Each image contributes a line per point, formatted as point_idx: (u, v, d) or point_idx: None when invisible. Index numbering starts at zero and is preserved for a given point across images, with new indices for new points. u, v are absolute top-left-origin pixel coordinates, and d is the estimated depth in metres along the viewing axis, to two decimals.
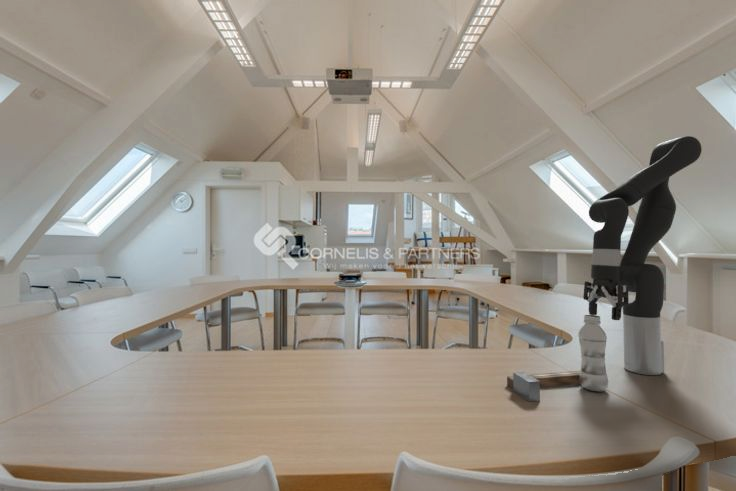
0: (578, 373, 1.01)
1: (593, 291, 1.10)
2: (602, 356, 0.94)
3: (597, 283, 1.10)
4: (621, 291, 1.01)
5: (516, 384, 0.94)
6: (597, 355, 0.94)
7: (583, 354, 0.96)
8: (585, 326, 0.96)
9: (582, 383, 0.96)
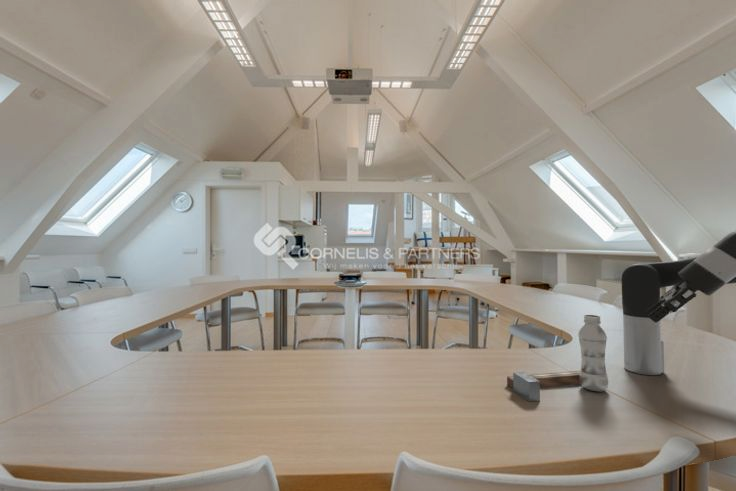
0: (578, 373, 1.01)
1: (669, 290, 0.89)
2: (602, 356, 0.94)
3: (681, 285, 0.87)
4: (680, 293, 0.80)
5: (516, 384, 0.94)
6: (597, 355, 0.94)
7: (583, 354, 0.96)
8: (585, 326, 0.96)
9: (582, 383, 0.96)
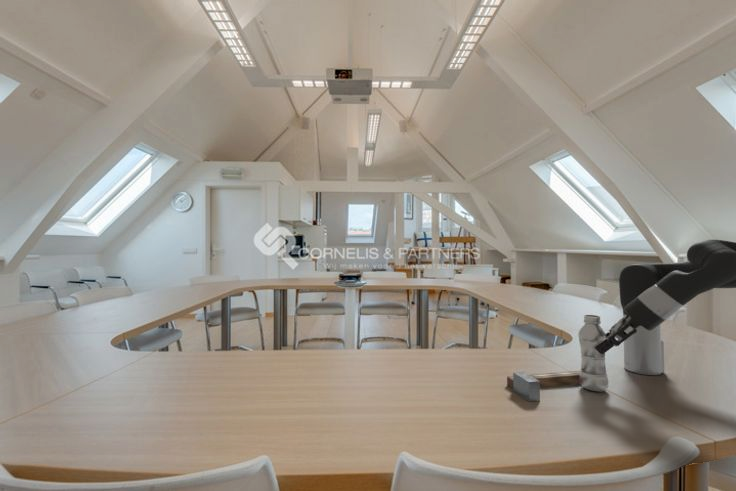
0: (578, 373, 1.01)
1: (617, 322, 0.94)
2: (602, 356, 0.94)
3: (627, 318, 0.92)
4: (622, 328, 0.86)
5: (516, 384, 0.94)
6: (597, 355, 0.94)
7: (583, 354, 0.96)
8: (585, 326, 0.96)
9: (582, 383, 0.96)
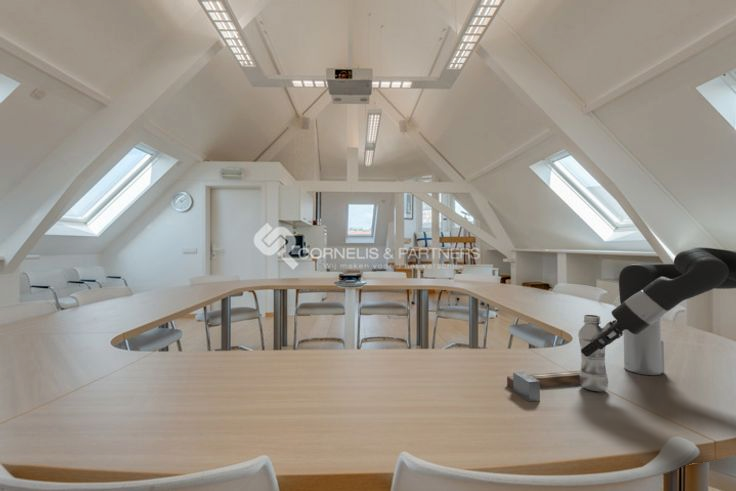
0: (578, 373, 1.01)
1: None
2: (602, 356, 0.94)
3: (615, 322, 0.94)
4: (605, 333, 0.89)
5: (516, 384, 0.94)
6: (597, 355, 0.94)
7: (583, 354, 0.96)
8: (585, 326, 0.96)
9: (582, 383, 0.96)
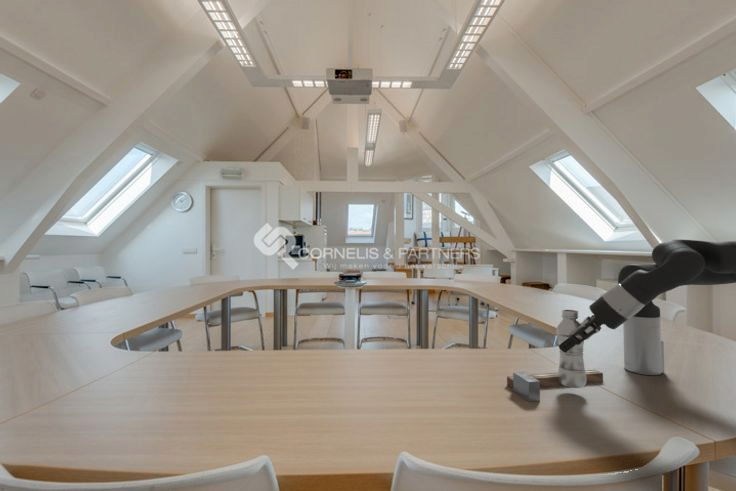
0: None
1: None
2: (580, 352, 0.92)
3: (593, 317, 0.92)
4: (582, 328, 0.87)
5: (516, 384, 0.94)
6: (575, 350, 0.91)
7: (561, 350, 0.94)
8: (563, 321, 0.94)
9: (560, 379, 0.94)
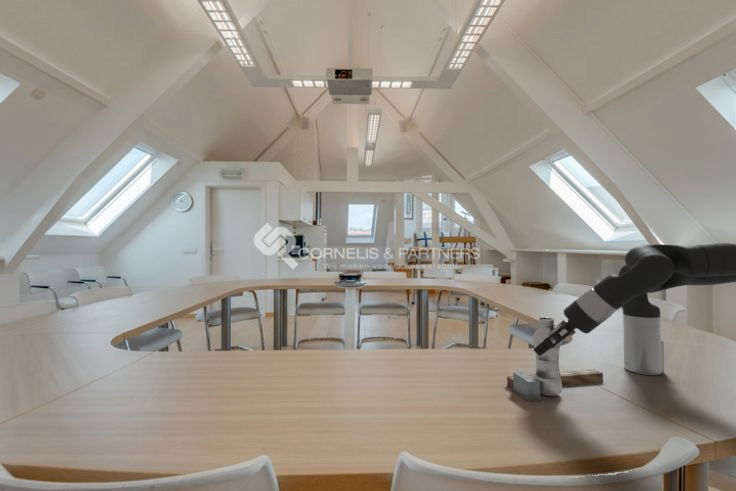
0: (578, 373, 1.01)
1: None
2: (555, 360, 0.91)
3: None
4: (557, 331, 0.86)
5: (516, 384, 0.94)
6: (550, 358, 0.91)
7: (537, 358, 0.93)
8: (539, 329, 0.94)
9: None
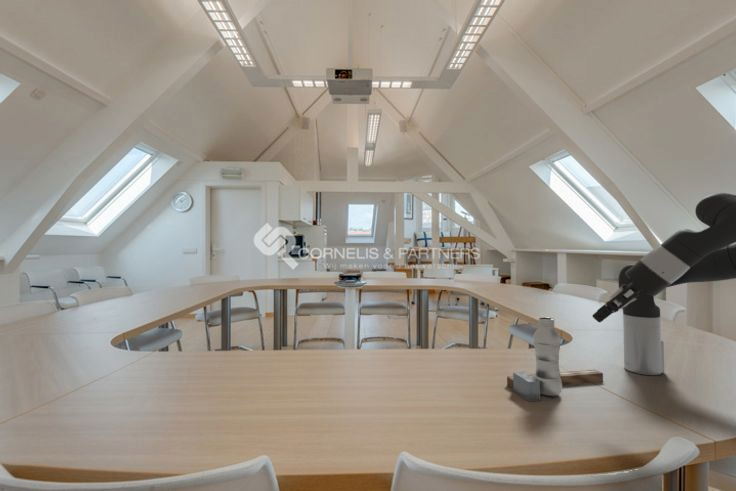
0: (578, 373, 1.01)
1: None
2: (555, 360, 0.91)
3: None
4: (621, 292, 0.78)
5: (516, 384, 0.94)
6: (550, 358, 0.91)
7: (537, 358, 0.93)
8: (539, 329, 0.94)
9: None
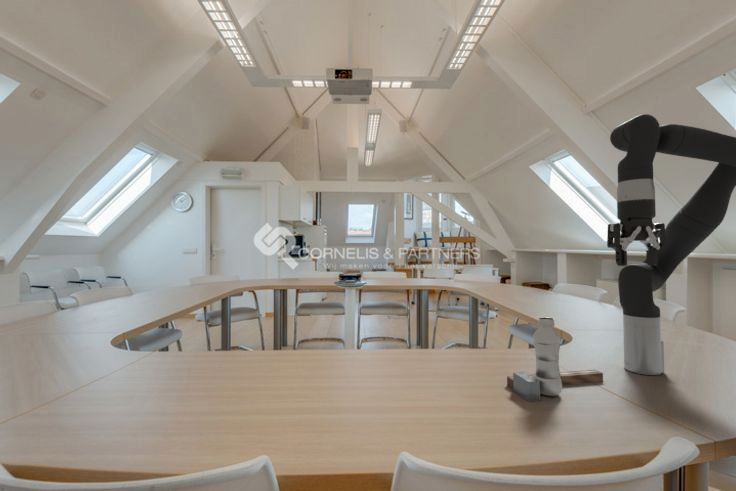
0: (578, 373, 1.01)
1: None
2: (555, 360, 0.91)
3: None
4: (608, 230, 0.87)
5: (516, 384, 0.94)
6: (550, 358, 0.91)
7: (537, 358, 0.93)
8: (539, 329, 0.94)
9: None
